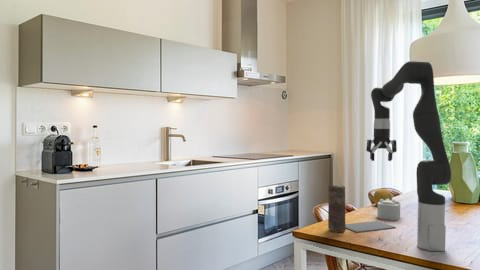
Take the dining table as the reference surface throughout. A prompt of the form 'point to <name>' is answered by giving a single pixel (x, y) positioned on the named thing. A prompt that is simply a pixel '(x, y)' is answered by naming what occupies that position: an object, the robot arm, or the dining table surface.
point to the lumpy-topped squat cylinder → (388, 209)
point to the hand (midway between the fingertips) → (381, 160)
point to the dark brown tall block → (336, 208)
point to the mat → (368, 226)
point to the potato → (382, 195)
